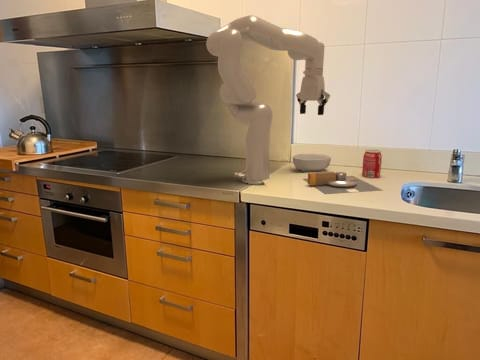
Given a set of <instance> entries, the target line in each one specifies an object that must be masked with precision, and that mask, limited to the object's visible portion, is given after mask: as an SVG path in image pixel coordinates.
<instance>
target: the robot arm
mask: <svg viewBox="0 0 480 360" xmlns="http://www.w3.org/2000/svg"><path fill="white" fill-rule="evenodd" d="M244 42H251V43H252V42H253V43H255V44H256V45H260V46H262V47H264V48H267V49H269V50H273V51H284V52H285V51H286V52H287V55H288V58H290V59H292V60H294V61H303V60H304V61H305V65H304V71H303V72H302V73H303V75H304V76H303V77H302V80H301V84H300V91H299V92H297V94H295V97H296V99H297V102H298V104H299V114H300V115H305V114H306V111H307V105H306V103H307V102H308V101H309V102H310V101H313V102H314V101H315V102H317V103H318V106H317V115H318V116H323V115H324V113H325V106H326V104H327V103H328V102H329V99H330V98H331V94H329V93H328V92H326V89H325V87H326V86H325V77H324V75H323V74H324V61H325V44H324V43H323V42H321V41H318V39H317V38H315V37H313V36H311V35H309V34H307V33H305V32H301V31H298V30H294V29H290V28H285V27H280V26H278V25H276V24H273V23H272V22H269V21H267V20H265V19H262V18H261V17H259V16H256V15H252V14H250V15H246V16H243V17H239V18H237V19H234V20H233V21H231V22H229V23H227V24H226V25H224V26H222V27H220V28H218V29H217V30H215V31H212V33H210V35H208V37H207V39H206V49H207V51H208V52H209V54H210V55H212V56H214V57H218V58H217V69H218V70H217V71H218V73H219V76H220V78H221V80H222V82H223V83H222V84H221V86H220V91H219V93H220V94H219V95H220V98H221V100H222V103H223V104H224V106H226V108H227V110H228V112H229V113H230V114H231V116H232V117H233V119H234V120H235V121H236V122H237V123H238V124H239V125H242V126H248V127H247V129H246V130H247V131H246V133H245V134H246V135H245V169H244V168H243V170H242V171H236V172H234V173H233V174H234V178H241V181H242V182H243V183H244V184H247V183H248V185H255V186H256V185H259V186H260V185H265V182H264V181H266V180H269V179H270V150H271V149H270V148H271V147H270V143H271V142H270V137H271V136H270V135H271V127H272V126H271V125H272V121H273V111H272V108H271V107H270V106H269V104H267V103H265V102H261V101H255V100H256V97H257V91H256V88H255V85H254V84H253V82H252V81H251V79H250V78H249V76H248V74H247V73H246V71H245V70H244V67H243V66H242V64H241V63H242V61H241V53H242V49H243V45H244Z"/></svg>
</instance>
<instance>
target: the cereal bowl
mask: <svg viewBox="0 0 480 360" xmlns="http://www.w3.org/2000/svg"><path fill="white" fill-rule="evenodd" d="M331 160H332V156H331V155H328V154H324V153H314V152H313V153H306V152H305V153H297V154H294V155H293V156H292V164H293V166H294V167H295V168H296V169H298V170H299V171H301V172H303V173H305V174H308V173H319V172H321V171H324V170H326V169H328V167H330V165H331Z"/></svg>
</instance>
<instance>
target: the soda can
mask: <svg viewBox="0 0 480 360" xmlns="http://www.w3.org/2000/svg"><path fill="white" fill-rule="evenodd" d="M381 152H382V151H381V150H378V149H366V150H365V152H364V154H363V159H362V170H361V176H362V177H363V178H367V179H380V177H381V169H382V163H383V162H382V159H383V155H382V153H381Z"/></svg>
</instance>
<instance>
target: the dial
mask: <svg viewBox="0 0 480 360" xmlns="http://www.w3.org/2000/svg"><path fill="white" fill-rule="evenodd" d="M347 176H348V175H347V173H346V172H345V171H344V172H342V171H341V172H339V171H336V172H335V171H323V172H321V171H320V172H309V173H307V179H308V183H307V185H309V186H312V185H321V184H327V185H331V186H337V187H351V186H355V185H357V180H356V179H355V178H352V177H347Z"/></svg>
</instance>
